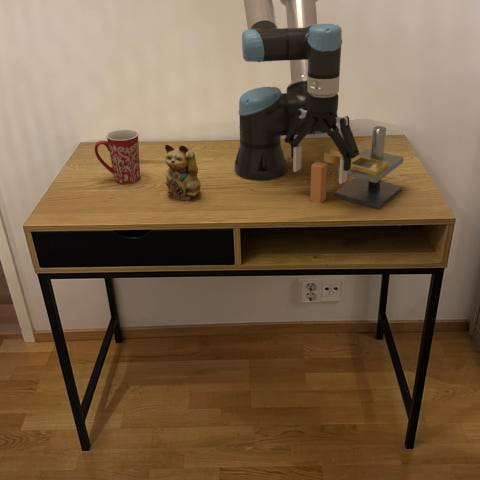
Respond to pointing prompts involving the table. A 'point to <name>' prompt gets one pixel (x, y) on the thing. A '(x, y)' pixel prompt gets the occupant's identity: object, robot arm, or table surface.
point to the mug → (122, 155)
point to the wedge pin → (318, 182)
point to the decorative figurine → (181, 172)
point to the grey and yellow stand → (368, 173)
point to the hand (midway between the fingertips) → (319, 175)
